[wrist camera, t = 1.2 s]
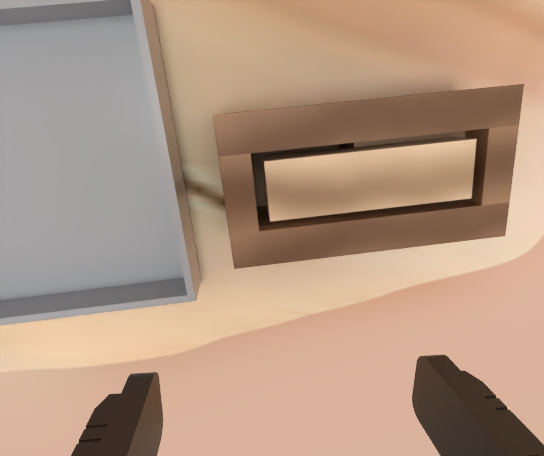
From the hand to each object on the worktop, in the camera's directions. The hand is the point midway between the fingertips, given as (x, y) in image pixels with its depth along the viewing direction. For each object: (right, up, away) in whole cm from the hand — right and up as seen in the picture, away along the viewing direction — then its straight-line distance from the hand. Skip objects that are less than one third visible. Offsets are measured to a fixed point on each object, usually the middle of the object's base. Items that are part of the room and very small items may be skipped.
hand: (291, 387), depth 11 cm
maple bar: (+6, +9, +15) cm, 18 cm away
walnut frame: (+5, +10, +19) cm, 23 cm away
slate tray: (-19, +9, +17) cm, 27 cm away
